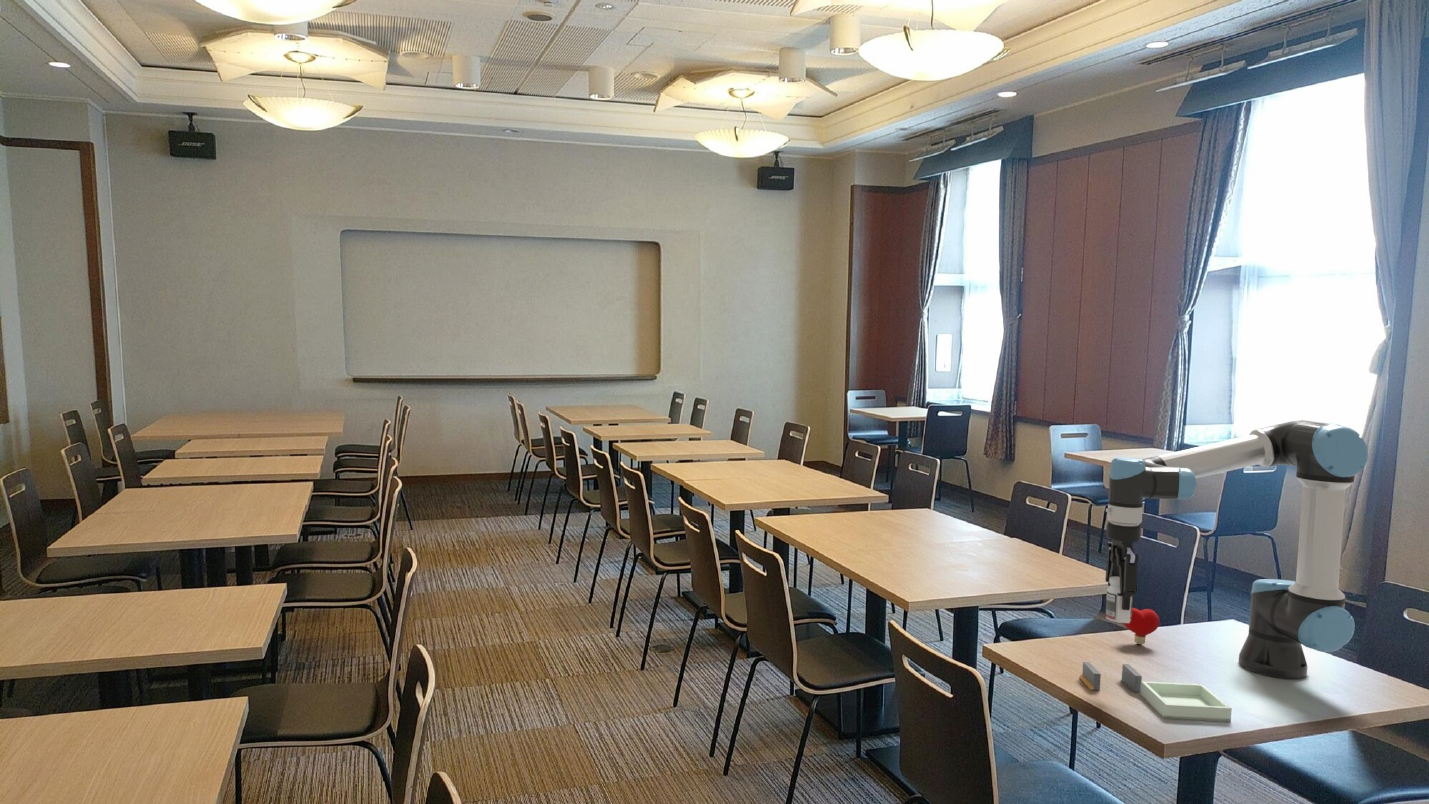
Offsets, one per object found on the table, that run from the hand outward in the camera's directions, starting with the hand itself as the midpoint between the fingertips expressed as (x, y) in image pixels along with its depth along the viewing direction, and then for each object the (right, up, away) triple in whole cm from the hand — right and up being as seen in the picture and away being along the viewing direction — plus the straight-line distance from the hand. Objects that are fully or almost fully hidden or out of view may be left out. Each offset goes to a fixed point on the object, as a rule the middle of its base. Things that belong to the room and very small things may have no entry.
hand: (1118, 618), depth 222 cm
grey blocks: (-1, -17, +2) cm, 17 cm away
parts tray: (+10, -18, -11) cm, 23 cm away
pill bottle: (0, -1, 0) cm, 1 cm away
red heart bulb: (+20, -15, +32) cm, 41 cm away
